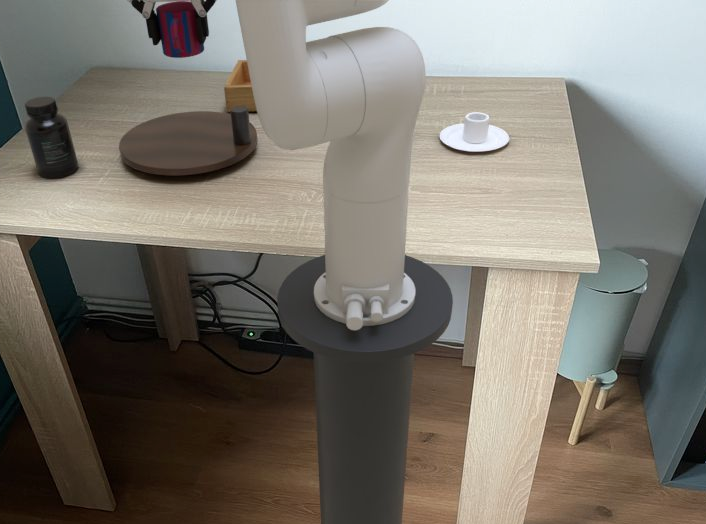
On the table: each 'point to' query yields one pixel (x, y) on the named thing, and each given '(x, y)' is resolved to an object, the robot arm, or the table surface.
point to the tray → (239, 88)
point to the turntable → (189, 142)
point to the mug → (178, 29)
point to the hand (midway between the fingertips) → (179, 41)
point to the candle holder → (474, 134)
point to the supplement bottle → (49, 138)
